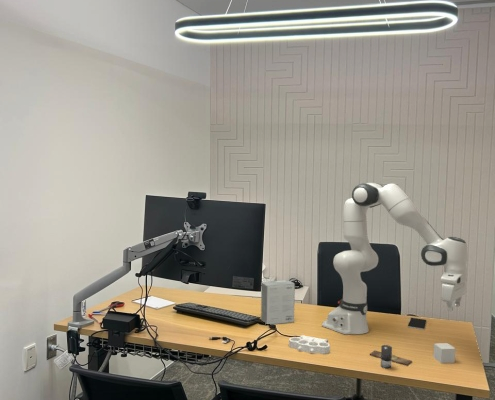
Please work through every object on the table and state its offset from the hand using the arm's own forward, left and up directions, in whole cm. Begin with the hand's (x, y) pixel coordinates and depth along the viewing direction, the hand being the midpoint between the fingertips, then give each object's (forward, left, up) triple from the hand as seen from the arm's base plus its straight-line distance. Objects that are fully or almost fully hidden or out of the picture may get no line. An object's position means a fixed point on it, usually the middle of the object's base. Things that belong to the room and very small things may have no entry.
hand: (453, 308), depth 200 cm
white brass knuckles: (-49, -34, -21) cm, 63 cm away
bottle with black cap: (-16, -31, -20) cm, 40 cm away
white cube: (-1, -8, -20) cm, 22 cm away
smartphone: (-26, +30, -21) cm, 44 cm away
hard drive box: (-80, -16, -20) cm, 84 cm away
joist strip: (-18, -22, -20) cm, 35 cm away
